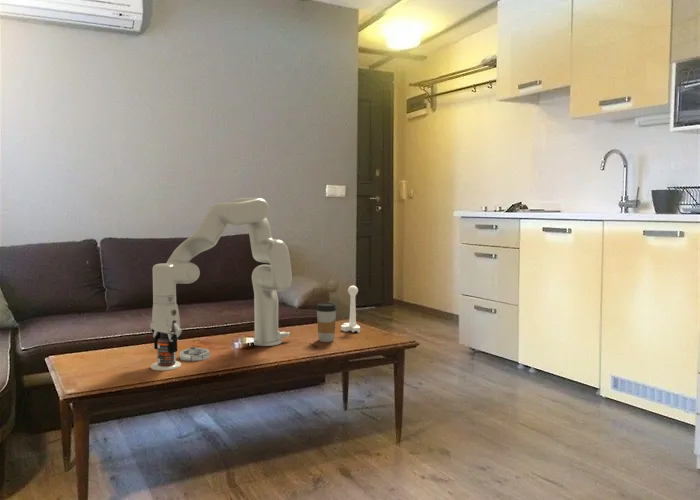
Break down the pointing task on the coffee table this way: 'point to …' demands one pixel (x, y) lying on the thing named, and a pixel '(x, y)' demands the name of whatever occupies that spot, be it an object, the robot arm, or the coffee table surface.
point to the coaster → (163, 368)
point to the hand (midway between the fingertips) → (165, 350)
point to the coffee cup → (326, 321)
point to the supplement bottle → (165, 351)
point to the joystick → (351, 312)
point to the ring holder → (198, 354)
